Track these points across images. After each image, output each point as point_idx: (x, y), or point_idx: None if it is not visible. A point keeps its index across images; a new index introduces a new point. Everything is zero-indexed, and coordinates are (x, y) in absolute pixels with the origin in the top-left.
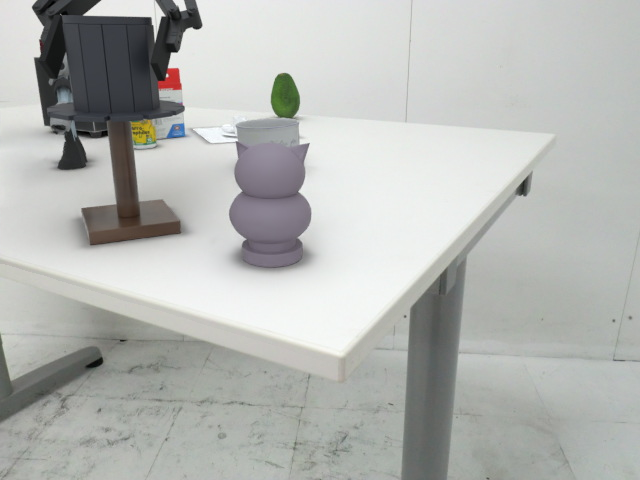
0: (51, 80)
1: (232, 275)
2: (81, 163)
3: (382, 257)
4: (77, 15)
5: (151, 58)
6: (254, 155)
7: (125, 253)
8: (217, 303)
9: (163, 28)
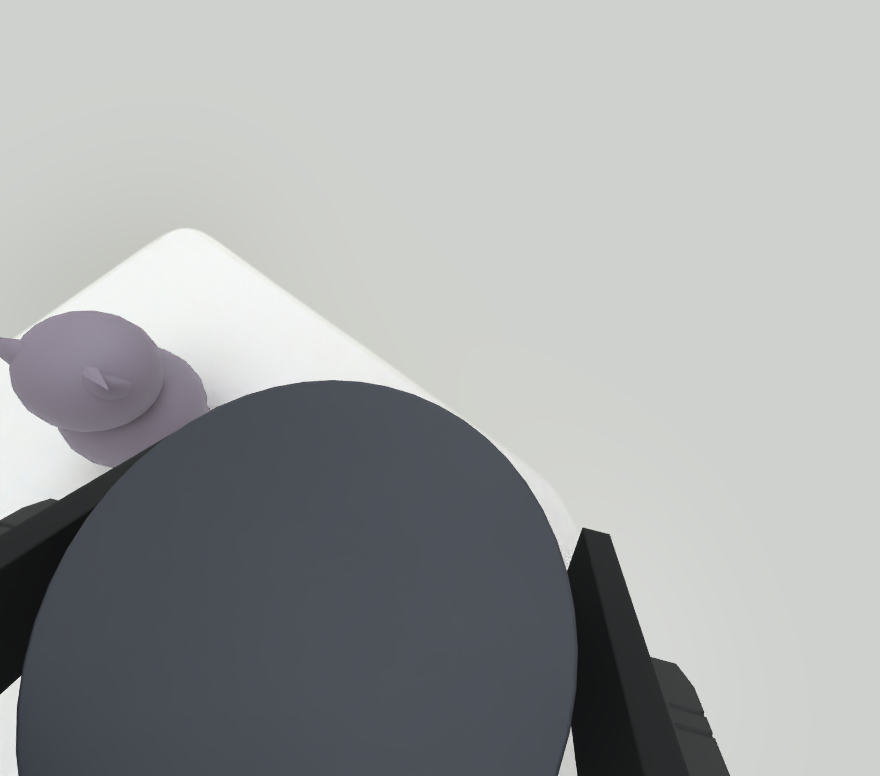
0: None
1: (241, 376)
2: None
3: (10, 404)
4: (443, 411)
5: None
6: (108, 324)
7: None
8: (272, 312)
9: (38, 523)
